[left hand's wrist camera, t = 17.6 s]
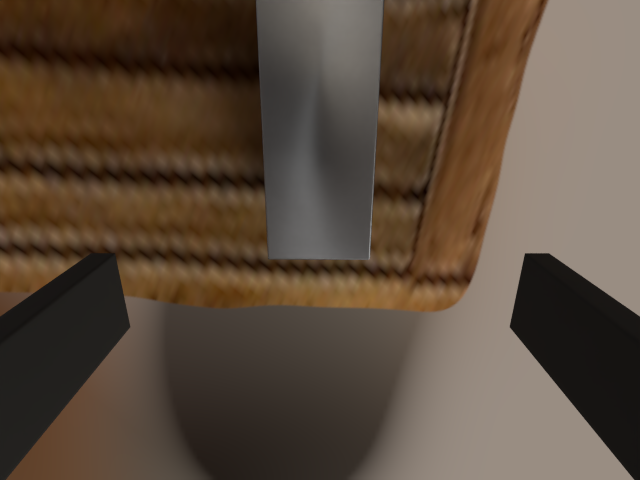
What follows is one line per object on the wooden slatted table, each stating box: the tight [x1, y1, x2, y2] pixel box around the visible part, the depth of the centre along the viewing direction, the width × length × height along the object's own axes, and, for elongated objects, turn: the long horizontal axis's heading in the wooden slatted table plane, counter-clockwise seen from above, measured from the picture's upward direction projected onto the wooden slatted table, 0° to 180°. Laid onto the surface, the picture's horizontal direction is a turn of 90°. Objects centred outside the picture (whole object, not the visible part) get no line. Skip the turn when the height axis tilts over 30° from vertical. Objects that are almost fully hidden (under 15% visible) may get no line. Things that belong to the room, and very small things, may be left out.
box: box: [256, 0, 384, 260], centre depth 24 cm, size 20×6×13 cm, turn 0°
